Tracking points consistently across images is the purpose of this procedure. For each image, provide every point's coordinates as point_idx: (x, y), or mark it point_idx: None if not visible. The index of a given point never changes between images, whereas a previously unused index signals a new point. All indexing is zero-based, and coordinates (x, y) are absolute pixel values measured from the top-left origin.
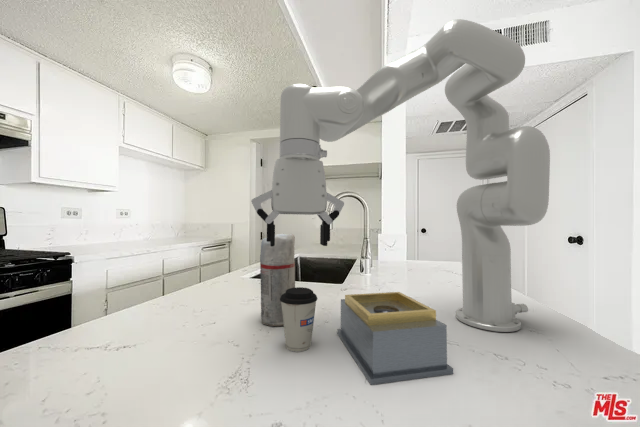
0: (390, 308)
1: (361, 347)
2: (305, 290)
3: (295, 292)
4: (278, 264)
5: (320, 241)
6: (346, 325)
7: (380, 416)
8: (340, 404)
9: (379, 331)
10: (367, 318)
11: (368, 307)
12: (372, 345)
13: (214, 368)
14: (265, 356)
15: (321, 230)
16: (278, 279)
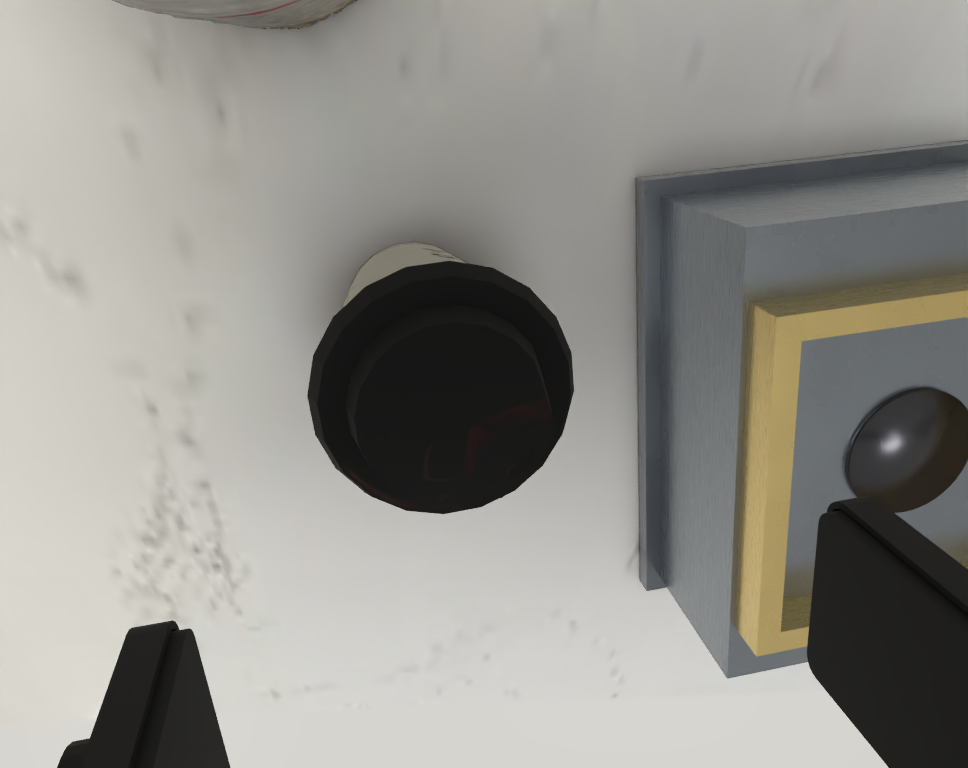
0: (940, 441)
1: (679, 507)
2: (503, 414)
3: (427, 467)
4: (218, 15)
5: (840, 536)
6: (687, 317)
7: (615, 685)
8: (527, 652)
9: (753, 671)
10: (749, 638)
11: (844, 402)
12: (703, 636)
13: (49, 485)
14: (258, 399)
15: (943, 690)
16: (241, 20)
